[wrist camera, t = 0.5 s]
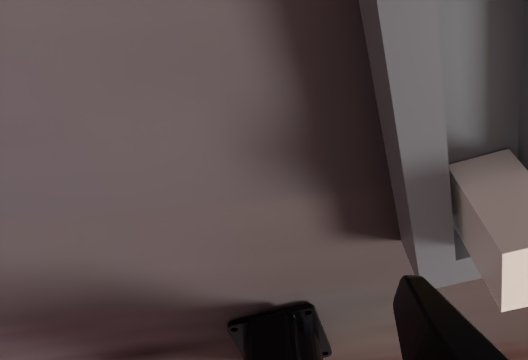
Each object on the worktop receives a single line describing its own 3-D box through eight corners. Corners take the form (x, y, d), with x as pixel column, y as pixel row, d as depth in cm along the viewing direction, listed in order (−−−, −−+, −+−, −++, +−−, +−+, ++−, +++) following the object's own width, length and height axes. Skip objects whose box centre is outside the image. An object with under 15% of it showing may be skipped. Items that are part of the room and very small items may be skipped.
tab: (507, 206, 25) (572, 297, 20) (451, 220, 25) (501, 312, 20) (508, 148, 22) (582, 235, 17) (446, 165, 23) (502, 253, 18)
